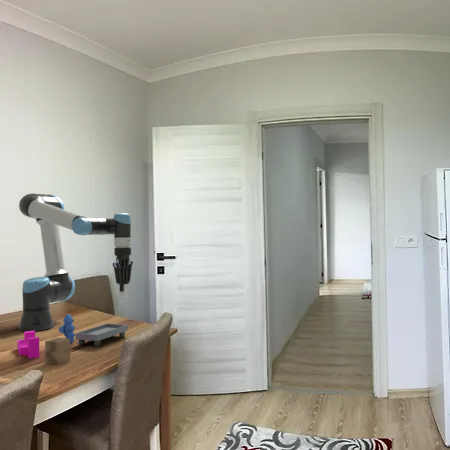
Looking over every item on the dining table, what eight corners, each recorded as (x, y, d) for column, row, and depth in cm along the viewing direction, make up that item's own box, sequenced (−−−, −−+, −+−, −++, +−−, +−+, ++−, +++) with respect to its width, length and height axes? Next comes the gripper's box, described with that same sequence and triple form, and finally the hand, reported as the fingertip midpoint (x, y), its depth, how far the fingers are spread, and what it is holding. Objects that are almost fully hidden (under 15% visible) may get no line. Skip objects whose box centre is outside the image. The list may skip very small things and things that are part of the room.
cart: (75, 345, 189) (75, 333, 189) (107, 334, 209) (107, 323, 209) (97, 347, 185) (97, 334, 185) (127, 336, 204) (127, 324, 205)
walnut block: (45, 363, 165) (45, 341, 165) (57, 359, 171) (57, 337, 171) (58, 365, 163) (58, 342, 163) (70, 360, 168) (69, 338, 168)
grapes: (55, 341, 199) (55, 313, 199) (72, 339, 202) (71, 312, 202) (61, 347, 189) (60, 317, 189) (78, 344, 192) (77, 316, 192)
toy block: (17, 351, 184) (17, 332, 184) (34, 349, 187) (34, 330, 187) (21, 360, 171) (21, 339, 171) (39, 357, 174) (39, 337, 174)
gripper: (121, 247, 204) (121, 300, 204) (137, 246, 216) (138, 296, 216) (107, 247, 207) (107, 300, 207) (124, 246, 219) (125, 296, 219)
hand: (123, 298), depth 211 cm, fingers closed
